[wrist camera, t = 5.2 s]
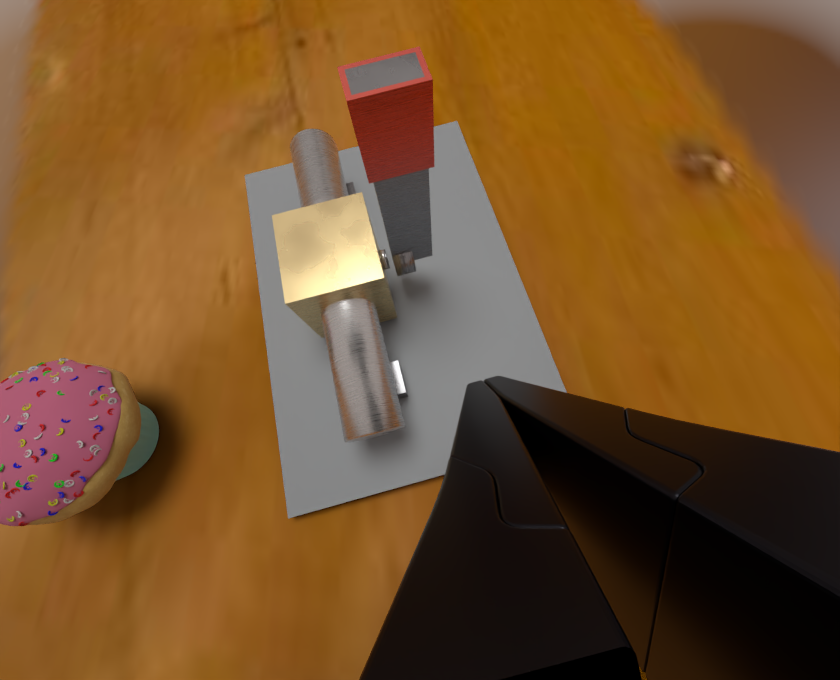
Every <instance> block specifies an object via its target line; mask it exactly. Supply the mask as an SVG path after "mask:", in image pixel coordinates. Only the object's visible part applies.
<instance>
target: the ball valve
mask: <svg viewBox="0 0 840 680" xmlns="http://www.w3.org/2000/svg"><path fill="white" fill-rule="evenodd" d="M290 151H291V157H292V162H293V167H294V173H295V178H296V184H297V189H298V194H299V200H300V205H301V208H298V209H294V210H290V211H286V212H283V213H279V214H275V215H272V220H273V227H274V234H275V240H276V247H277V254H278V260H279V267H280V273H281V280H282V287H283V293H284V300H285V304H286V305H287V306H288V307H289V308H290V309H291V310H292V311H293V312H294V313H295V314H297V315H298V316H299V317H300V318H301V319H302V320H303V321H304V322H305V323H306V324H307V325H308V326H309V327H311V328H312V329H313V330H314V331H315V332H316V333H317V334H318V335H319V336H320V337H321V338H324V337H325V340H326V345H327V351H328V356H329V361H330V367H331V372H332V377H333V383H334V388H335V394H336V399H337V404H338V410H339V415H340V421H341V426H342V431H343V437H344V442H345V443H349V442H355V441H360V440H365V439H369V438H373V437H377V436H381V435H384V434H388V433H391V432H394V431H397V430H400V429H402V428H404V427H405V424H404V420H403V416H402V412H401V408H400V404H399V399H400V398H404V397H407V396H408V392H407V388H406V384H405V380H404V377H403V373H402V369H401V366H400V363H399V361H394V362H390V363H389V358H388V354H387V350H386V346H385V342H384V338H383V334H382V330H381V326H380V322H383V321H387V320H391V319H395V318H397V314H396V310H395V306H394V302H393V299H392V295H391V291H390V287H389V283H388V280H387V276H386V272H385V269H389V268H390V266H389V262H388V258H387V255H386V251H385V249H382V250H380V249H379V246H378V243H377V239H376V236H375V233H374V230H373V226H372V223H371V220H370V216H369V213H368V210H367V207H366V203H365V200H364V197H363V194H362V192H360V193H356V190H355V187H354V184H353V182H350V183H346V182H345V178H344V174H343V170H342V166H341V162H340V157H339V153H338V149H337V145H336V143H335V141H334V139H333V138H332V137H331V136H330V135H329V134H328V133H326V132H324V131H322V130H318V129H306V130H303V131H301V132H299V133H297V134H296V135H295V136H294V137H293V139H292V141H291V144H290Z"/></svg>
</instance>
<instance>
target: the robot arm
mask: <svg viewBox="0 0 840 680" xmlns="http://www.w3.org/2000/svg"><path fill="white" fill-rule="evenodd" d="M639 666H640V668H641V669H642V671H643V672H646V673H645V675H646V677H647V679H648V680H840V452H836V451H831V450H826V449H821V448H816V447H811V446H806V445H800V444H795V443H790V442H785V441H780V440H775V439H770V438H765V437H759V436H754V435H749V434H744V433H739V432H734V431H729V430H724V429H719V428H714V427H709V426H704V425H699V424H694V423H689V422H685V421H680V420H675V419H671V418H667V417H663V416H658V415H654V414H650V413H646V412H642V411H638V410H634V409H630V408H626V409H624V408H623V407H620V406H616V405H612V404H608V403H604V402H600V401H597V400H593V399H589V398H585V397H581V396H577V395H573V394H569V393H565V392H561V391H557V390H554V389H550V388H546V387H542V386H538V385H534V384H530V383H526V382H522V381H518V380H514V379H510V378H507V377H503V376H494V377H490V378H487V379H485V380H484V381H482V380H480V381H476V382H472V383H469V384H468V385H467V387H466V391H465V395H464V399H463V404H462V408H461V412H460V416H459V420H458V425H457V429H456V433H455V437H454V441H453V445H452V450H451V454H450V458H449V460H448V464H447V468H446V472H445V476H444V479H443V482H442V486H441V489H440V492H439V494H438V497H437V500H436V502H435V505H434V507H433V510H432V512H431V515H430V517H429V519H428V522H427V524H426V526H425V529H424V531H423V533H422V535H421V538H420V540H419V542H418V545H417V547H416V549H415V552H414V554H413V556H412V559H411V561H410V563H409V566H408V568H407V570H406V573H405V575H404V577H403V579H402V582H401V584H400V586H399V589H398V591H397V593H396V596H395V598H394V600H393V603H392V605H391V607H390V610H389V612H388V614H387V616H386V619H385V621H384V623H383V626H382V628H381V630H380V633H379V635H378V637H377V640H376V642H375V644H374V647H373V649H372V651H371V654H370V656H369V658H368V660H367V663H366V665H365V667H364V670H363V672H362V674H361V677H360V679H359V680H641V675H640V670H639Z"/></svg>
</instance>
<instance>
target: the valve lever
mask: <svg viewBox="0 0 840 680" xmlns="http://www.w3.org/2000/svg"><path fill="white" fill-rule="evenodd" d="M337 68H338V71H339V75H340V79H341V82H342V86H343V90H344V93H345V97H346V101H347V105H348V108H349V112H350V116H351V119H352V123H353V127H354V130H355V134H356V138H357V141H358V145H359V149H360V152H361V156H362V160H363V164H364V167H365V171H366V175H367V178H368V182H369V184H370V183H373V184H374V188H375V192H376V196H377V200H378V204H379V208H380V212H381V216H382V219H383V223H384V227H385V231H386V235H387V240H388V244H389V247H390V251H391V255H392V259H393V262H394V266H395V270H396V273H397V276H401V275H405V274H408V273H412V272H416V266H415V261H414V260H417V259H421V258H425V257H429V256H432V233H431V210H430V187H429V168H432V167H434V123H433V79H432V77H431V74H430V72H429V69H428V67H427V64H426V62H425V59H424V57H423V54H422V51H421V49H420V47H416V48H412V49H408V50H404V51H400V52H396V53H392V54H388V55H384V56H380V57H376V58H372V59H368V60H364V61H360V62H356V63H352V64H348V65H344V66H340V67H337Z"/></svg>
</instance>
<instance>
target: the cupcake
mask: <svg viewBox="0 0 840 680" xmlns="http://www.w3.org/2000/svg"><path fill="white" fill-rule="evenodd" d="M63 359H64V360H63ZM158 437H159V425H158V421H157V419H156V416H155V415H154V413H153V412H152V411H151V410H150V409H149V408H147V407H146V406H144V405H142V404H140V403H139V402H138V401H137V399H136V397H135V394H134V392H133V390H132V387H131V385H130V383H129V380H128V379H127V377H126V376H125V375H124V374H123V373H121V372H119V371H117V370H114V369H110V368H107V367H103V366H100V365H95V364H88V363H77V362H75V361H73V360H68V359H66V358H61V359H59V360H57V361H51V362H47V363H40V364H38V365H37V366H32V367H30V368H29V369H28V370H26V371H18V372H16V373H14V374H13V375H11V376H9V377H8V378H7V379H5V380H3V381H2V382H1V383H0V524H4V525H9V526H25V525H38V524H47V523H55V522H59V521H62V520H65V519H67V518H69V517H71V516H73V515H75V514H77V513H80V512H82V511H84V510H86V509H88V508H90V507H92V506H93V505H95V504H96V503H97V502H99V501H100V500H101V499H102V498H103V497H104V496H105V495H106V494H107V493H108V491H109V490H110V489H111V487H112V486H113V484H114V482H115V481H116V480H119V479H121V478H124V477H126V476H128V475H131V474H132V473H134V472H136V471H137V470H138V469H140V468H141V467H142V466H143V465H144V464H145V463H146V462H147V461H148V459H149V458H150V457H151V455H152V453H153V452H154V450H155V447H156V445H157V442H158Z"/></svg>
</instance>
